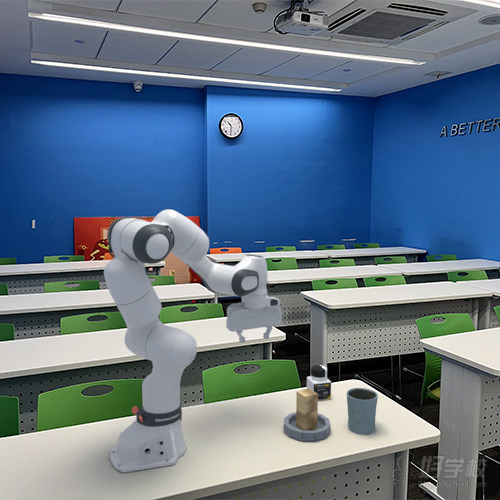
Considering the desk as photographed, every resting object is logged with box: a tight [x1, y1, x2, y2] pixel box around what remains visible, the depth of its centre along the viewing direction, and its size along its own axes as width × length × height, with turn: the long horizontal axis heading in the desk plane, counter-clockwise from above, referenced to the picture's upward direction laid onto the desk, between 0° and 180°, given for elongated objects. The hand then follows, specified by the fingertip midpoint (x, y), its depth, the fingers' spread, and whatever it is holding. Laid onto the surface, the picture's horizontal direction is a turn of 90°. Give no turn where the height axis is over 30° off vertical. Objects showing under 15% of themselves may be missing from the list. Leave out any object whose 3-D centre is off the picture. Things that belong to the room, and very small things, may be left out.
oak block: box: [295, 388, 319, 431], centre depth 161 cm, size 5×5×12 cm
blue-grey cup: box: [346, 387, 379, 435], centre depth 163 cm, size 10×10×12 cm
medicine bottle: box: [306, 364, 332, 402], centre depth 187 cm, size 7×7×12 cm
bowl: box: [283, 411, 331, 443], centre depth 162 cm, size 15×15×3 cm
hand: (254, 340), depth 170 cm, fingers open, 8 cm apart
